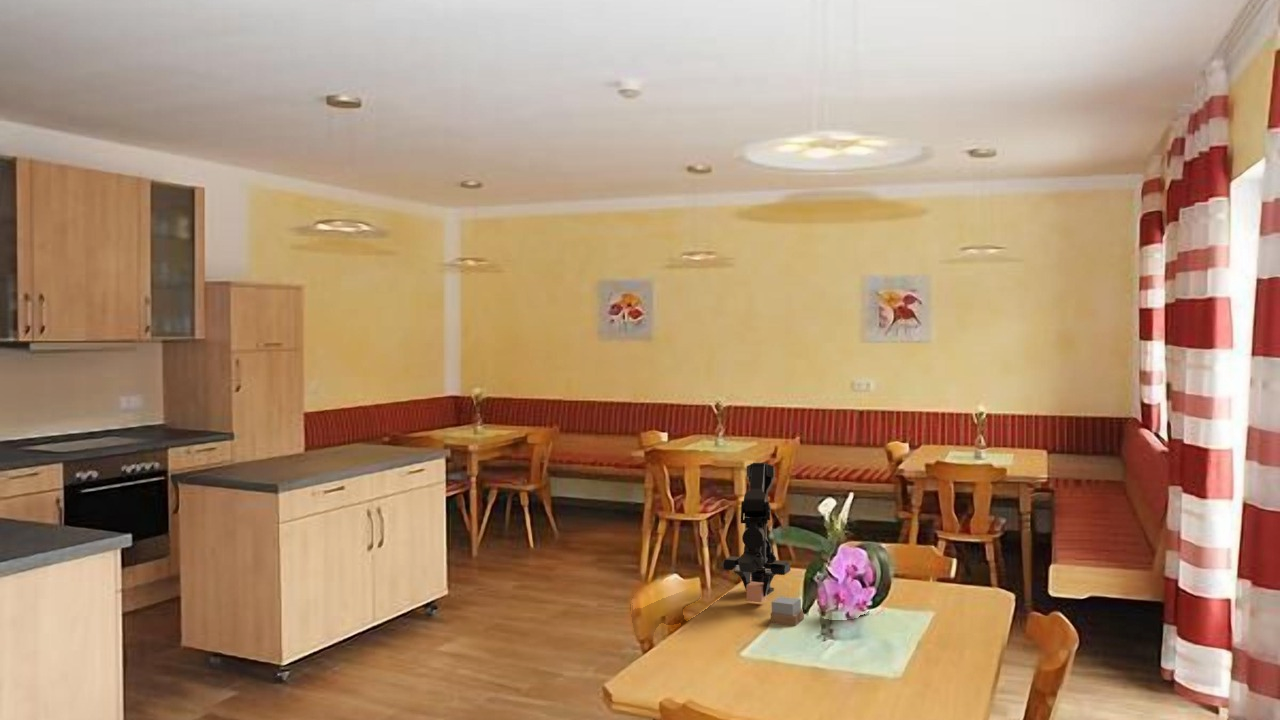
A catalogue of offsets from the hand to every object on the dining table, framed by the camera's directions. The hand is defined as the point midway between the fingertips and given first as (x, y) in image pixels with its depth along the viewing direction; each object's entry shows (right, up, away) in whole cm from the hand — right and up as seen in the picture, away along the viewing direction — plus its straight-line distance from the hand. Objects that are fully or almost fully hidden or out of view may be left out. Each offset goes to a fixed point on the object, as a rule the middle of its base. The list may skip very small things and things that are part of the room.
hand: (756, 595), depth 281 cm
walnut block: (+6, -3, -16) cm, 18 cm away
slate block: (+6, 0, -16) cm, 17 cm away
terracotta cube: (0, -1, 0) cm, 1 cm away
